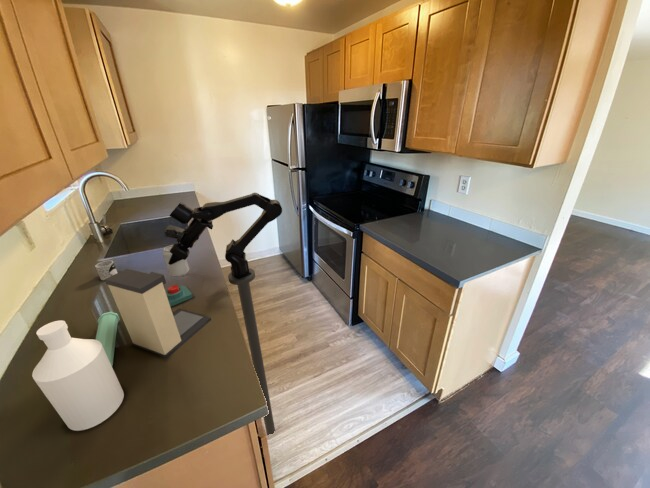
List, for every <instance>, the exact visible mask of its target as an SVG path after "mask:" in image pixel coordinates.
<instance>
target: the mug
mask: <svg viewBox="0 0 650 488" xmlns="http://www.w3.org/2000/svg"><path fill="white" fill-rule="evenodd" d="M94 267H95V269H96V271H97V274H98V276H99V279H100V280H101V281H105V280H104V279H106V278H109V277H111V276H113V275H115V274H117V273H119V272H118V269H117V268H116V265H115V262H114V260H111V259H109V260H103V261H100V262H98V263H96V264H95V265H94Z"/></svg>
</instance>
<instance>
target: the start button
mask: <svg viewBox="0 0 650 488" xmlns="http://www.w3.org/2000/svg"><path fill="white" fill-rule="evenodd" d="M178 286H179V285H175V284H174V285H171V286H169V287H168V288H167V290H168V291H169V293H170V294H174V293H177V292H178V291H179V287H178Z"/></svg>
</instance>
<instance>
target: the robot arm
mask: <svg viewBox="0 0 650 488" xmlns="http://www.w3.org/2000/svg"><path fill="white" fill-rule="evenodd" d="M251 206H257V207H258V208H260V209H261V210H262V212H261V214H260V215H259V217H257V219H256V220H255V221H254V222H253V223H252V224H251V226H250V227H248V229H247V230H246V231H245V232H244V233H243V234H242V235H241V236H240V237H239V238H238V239H236V240H235V239H234V238H233V239H231V240H230V242H229V243H228V244H226V248H225V254H224V258H225V261H227V262H228V263H229V264H230V273H231V272H232V275H233V276H234V277H235V278H237V279H241V278H243V277H246V276H248V275H251V272H249V268H250V266H249V261H248V260H247V259H246V256H247V253H246V252H245V250H246V248H247V246H249V245H250V243H251V242H252V241H253V240H254V239H255V238H256V237H257V236H258V234H260V232H261V231H262V230H263V229H264V228H265V227H266V226H267V225H268V224H269V223H271V222H273V221H275V220H276V219H277V218H279V217H280V216H281V215H282V213H283V207H282V205H281V202H280V201H279V200H277V199H271V198H270V197H266V196H264V195H261V194H259V193H258V192H252V193H250V194H246V195H243V196H239V197H236V198H233V199H229V200H226V201H213V202H206V203H204V204H203V205H202V206H199V207H195V208H191V207H190V206H188V205H187V204H186V203H184V202H182V201H180V202H179V203H178V204H177V206H175V207H174V208H173V210H172V211H171V213H170V214H169V215H168V216H169V217H170V218H172V219H173V220H175V221H177V222H179V223H180V224H182V225H186V224H188V225H187V226H185V227H184V228H182V227H180V226H176V225H171V224H169V225H167V226H166V227H165V231H164V237H165V238H171V239H175V240H176V242H177V243H174V244H172V245H173V246H172V248H171V249H170V253H172V256H171V258H170V260H169V263H168V264H170V265H172V264H174V263H176V262H178V261H180V260H182V259H183V260H187V258H188V257H189V255H190V253H191V251H190V249H192V248H193V247H194V244H195V243H196V242H197V241H199V239H200V237H201V235H202V234H203V233H204V232H205V230H206V229H207V228H208V229H209V230H213V228H214V224H213V221H214V220H216V219H218V218H220V217H222V216H223V215H226V214H227V213H230V212H233V211H237V210H241V209H243V208H247V207H251Z"/></svg>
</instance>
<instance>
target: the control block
mask: <svg viewBox="0 0 650 488" xmlns="http://www.w3.org/2000/svg"><path fill="white" fill-rule="evenodd" d="M177 286H178V287H179V291H178V292H177V293H174V294H170V293H169V291H168V289H165V292H166V295H167V298H168V301H169V304H170V307H174V306H177V305H179V304H181V303H183V302H185V301H188V300H191V299H193V298H194V295H193V293H192V292H191V291H190V289H189V288H188V287H187V286H186V285H182V286H180V285H177Z"/></svg>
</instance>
